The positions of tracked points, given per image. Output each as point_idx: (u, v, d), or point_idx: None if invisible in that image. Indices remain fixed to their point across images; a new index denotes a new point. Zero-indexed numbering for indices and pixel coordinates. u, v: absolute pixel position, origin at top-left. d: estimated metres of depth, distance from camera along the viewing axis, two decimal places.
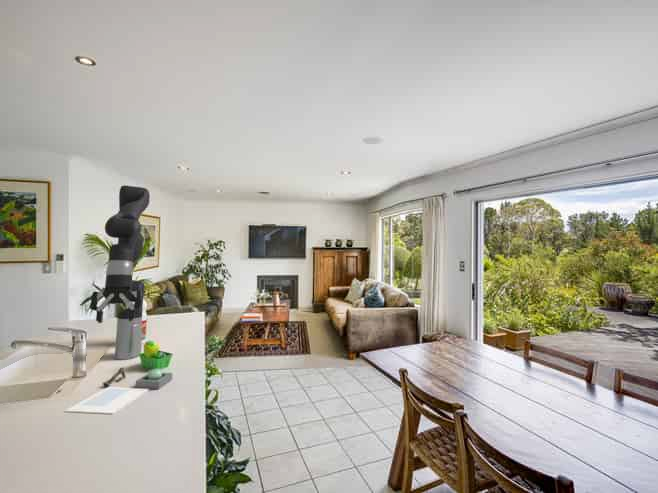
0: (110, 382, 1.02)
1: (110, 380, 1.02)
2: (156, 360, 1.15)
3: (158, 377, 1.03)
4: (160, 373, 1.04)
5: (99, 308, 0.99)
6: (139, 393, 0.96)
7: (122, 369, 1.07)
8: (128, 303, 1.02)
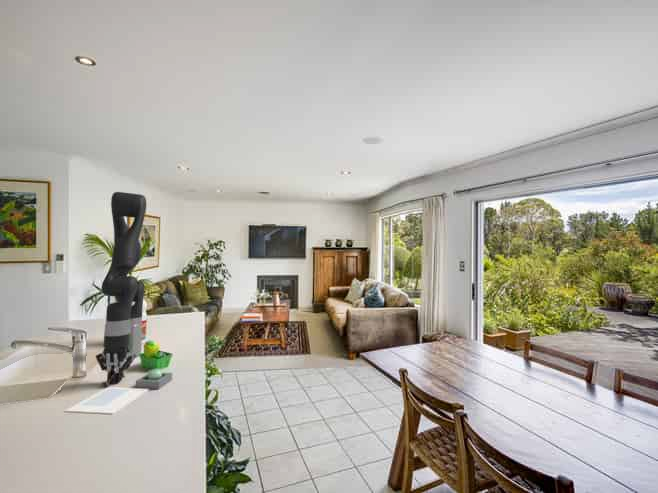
0: (109, 382, 1.02)
1: (109, 380, 1.02)
2: (156, 360, 1.15)
3: (158, 377, 1.03)
4: (160, 373, 1.04)
5: (108, 369, 1.03)
6: (139, 393, 0.96)
7: None
8: (116, 365, 1.03)
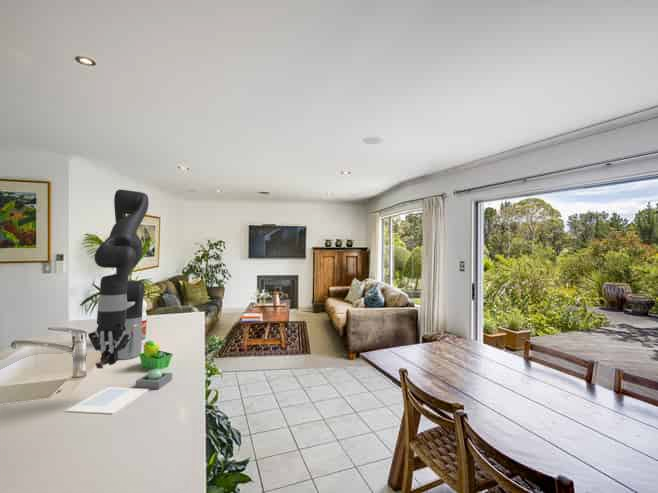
0: (103, 363, 0.91)
1: (103, 361, 0.91)
2: (156, 360, 1.15)
3: (158, 377, 1.03)
4: (160, 373, 1.04)
5: (102, 349, 0.93)
6: (139, 393, 0.96)
7: None
8: (110, 344, 0.92)
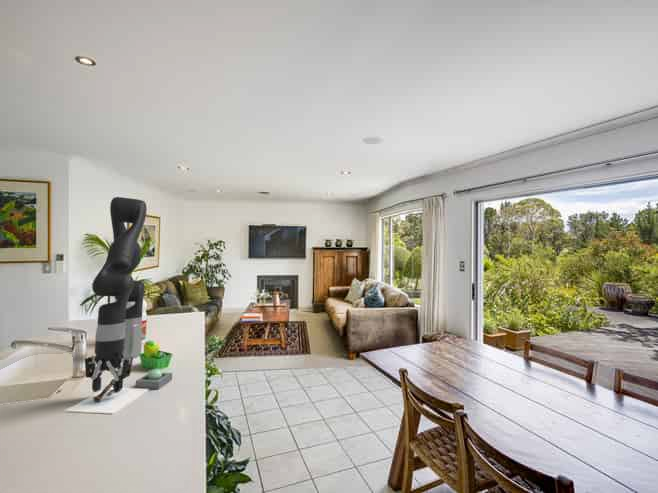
0: (101, 396, 0.90)
1: (101, 394, 0.91)
2: (156, 360, 1.15)
3: (158, 377, 1.03)
4: (160, 373, 1.04)
5: (93, 377, 0.92)
6: (139, 393, 0.96)
7: (114, 381, 0.95)
8: (113, 373, 0.92)
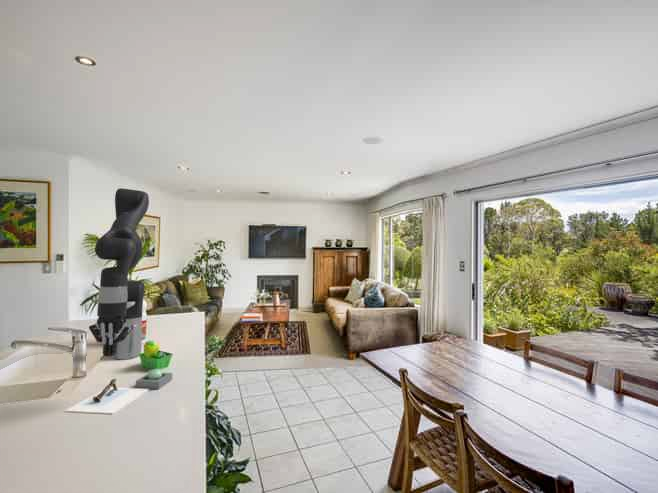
0: (101, 396, 0.90)
1: (101, 394, 0.91)
2: (156, 360, 1.15)
3: (158, 377, 1.03)
4: (160, 373, 1.04)
5: (104, 341, 0.93)
6: (139, 393, 0.96)
7: (114, 381, 0.95)
8: (110, 336, 0.92)
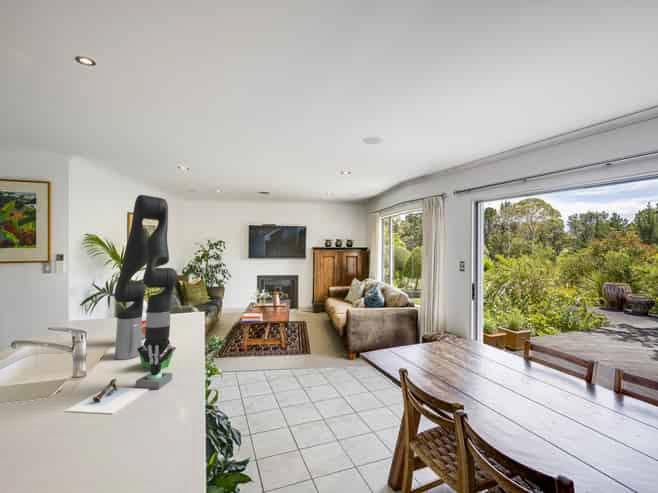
0: (101, 396, 0.90)
1: (101, 394, 0.90)
2: None
3: None
4: (160, 376, 1.04)
5: (152, 361, 1.03)
6: (139, 393, 0.96)
7: (113, 381, 0.95)
8: (156, 357, 1.03)
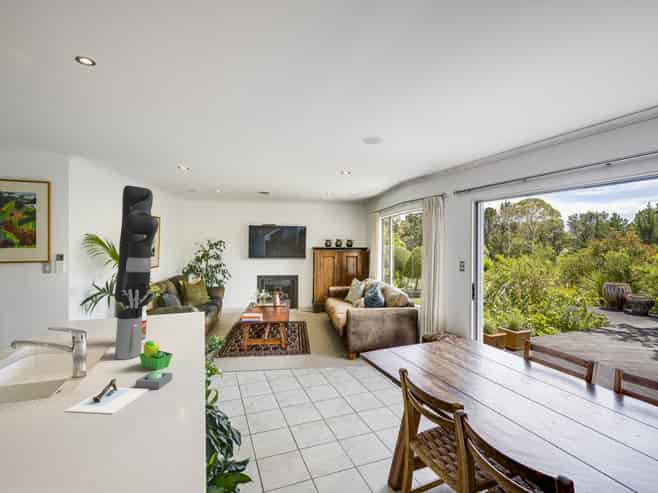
0: (101, 396, 0.90)
1: (101, 394, 0.90)
2: (156, 360, 1.15)
3: None
4: (160, 376, 1.04)
5: (132, 305, 1.06)
6: (139, 393, 0.96)
7: (113, 381, 0.95)
8: (136, 301, 1.06)
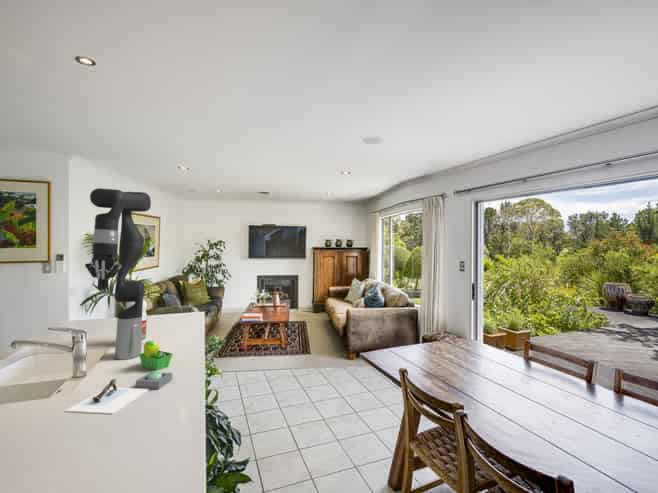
0: (101, 396, 0.90)
1: (101, 394, 0.90)
2: (156, 360, 1.15)
3: None
4: (160, 376, 1.04)
5: (98, 276, 1.08)
6: (139, 393, 0.96)
7: (113, 381, 0.95)
8: (102, 272, 1.08)
